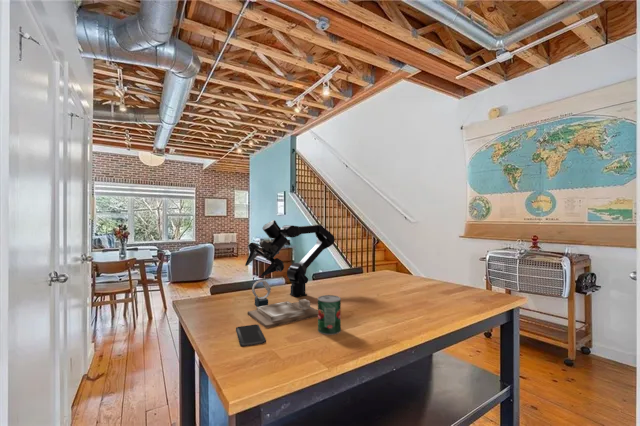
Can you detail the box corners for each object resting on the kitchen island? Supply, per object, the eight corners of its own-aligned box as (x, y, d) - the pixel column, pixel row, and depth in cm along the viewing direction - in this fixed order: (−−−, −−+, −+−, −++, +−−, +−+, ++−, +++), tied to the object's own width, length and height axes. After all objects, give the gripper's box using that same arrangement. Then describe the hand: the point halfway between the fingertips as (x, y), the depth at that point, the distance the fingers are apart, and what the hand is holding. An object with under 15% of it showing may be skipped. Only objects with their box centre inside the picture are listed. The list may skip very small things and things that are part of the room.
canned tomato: (345, 332, 101) (345, 299, 102) (325, 336, 98) (325, 302, 98) (332, 324, 108) (332, 294, 108) (313, 328, 104) (313, 297, 105)
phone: (240, 344, 90) (235, 327, 104) (240, 348, 90) (235, 330, 104) (266, 340, 93) (258, 324, 107) (266, 344, 93) (258, 327, 107)
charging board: (299, 303, 133) (299, 294, 133) (322, 315, 119) (322, 304, 119) (247, 314, 120) (247, 304, 120) (266, 328, 105) (266, 316, 105)
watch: (272, 306, 130) (272, 280, 130) (254, 309, 126) (254, 282, 126) (268, 302, 135) (268, 278, 135) (250, 305, 131) (250, 280, 131)
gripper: (258, 226, 136) (233, 251, 129) (290, 246, 130) (267, 273, 122) (261, 239, 145) (239, 263, 137) (292, 258, 139) (270, 285, 131)
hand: (253, 270), depth 132 cm, fingers open, 9 cm apart
